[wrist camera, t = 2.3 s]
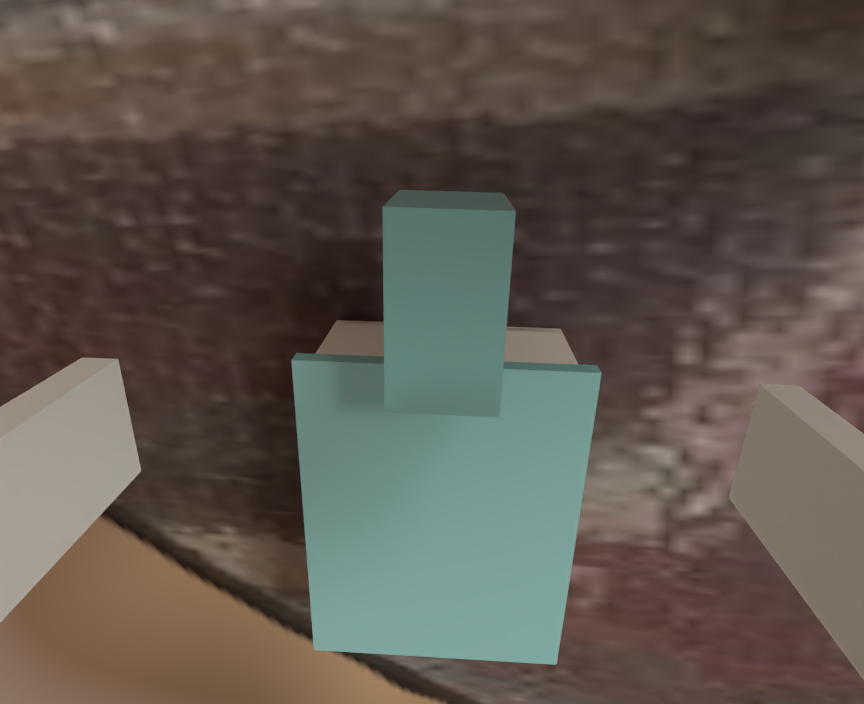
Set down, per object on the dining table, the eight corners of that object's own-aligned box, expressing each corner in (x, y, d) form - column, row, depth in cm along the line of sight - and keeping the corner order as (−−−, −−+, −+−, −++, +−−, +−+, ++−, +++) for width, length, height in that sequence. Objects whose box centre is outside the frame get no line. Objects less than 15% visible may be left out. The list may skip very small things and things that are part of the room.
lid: (284, 186, 21) (235, 202, 17) (622, 196, 21) (668, 216, 16) (317, 637, 30) (291, 728, 26) (554, 651, 30) (571, 746, 25)
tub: (336, 319, 30) (308, 363, 24) (560, 328, 29) (583, 375, 24) (346, 553, 36) (326, 631, 30) (532, 563, 35) (545, 643, 30)
